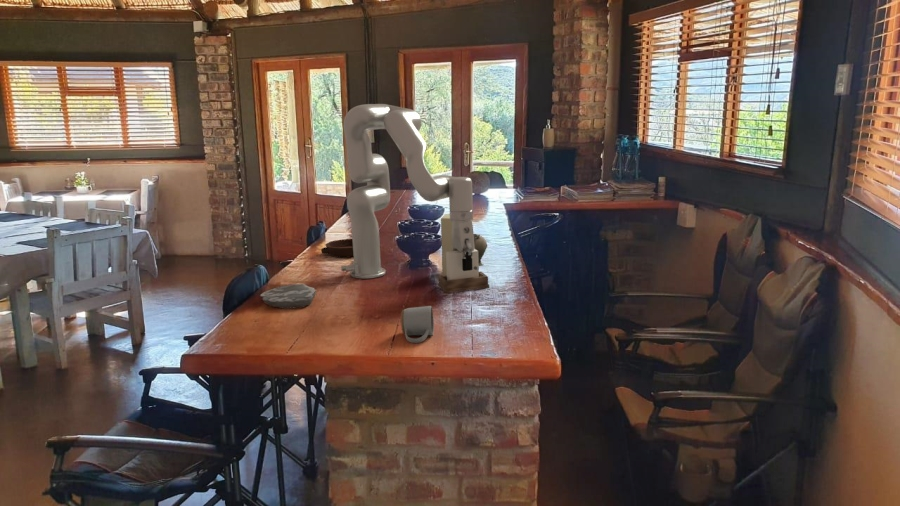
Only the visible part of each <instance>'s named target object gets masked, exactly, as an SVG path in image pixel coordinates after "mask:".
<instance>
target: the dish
mask: <svg viewBox="0 0 900 506" xmlns="http://www.w3.org/2000/svg"><path fill="white" fill-rule="evenodd" d="M320 253H321V254H323V255H324V254H325V255H330V256H332V257H334V256H335V258H354V255H353V240H352V238H346V239H345V238H344V239H337V240H332V241H329V242H327V243H326V244H325V246H324V247H322V248H321V252H320Z"/></svg>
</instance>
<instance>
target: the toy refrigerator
mask: <svg viewBox="0 0 900 506" xmlns="http://www.w3.org/2000/svg"><path fill="white" fill-rule="evenodd" d="M440 234H441V235H440V237H441V239H440V240H441V268H442V269H441V270H442V275H441V276H445V275H447V268H446V252H449V251H453V245H452V221H450V213H446V214H444V215H443V216H441V218H440Z"/></svg>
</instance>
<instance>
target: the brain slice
mask: <svg viewBox="0 0 900 506" xmlns="http://www.w3.org/2000/svg"><path fill="white" fill-rule="evenodd" d="M316 293H317V291H316V289H315V287H312V286H308V285H307V284H305V283H295V284H286V285H279V286H277V287H274V288H271V289H267V290H266V291H264V292H262V293H261V294H259V296H260V297H261V299H262V301H263V302H264V304H266V305H268V306H270V305H271V306H270V307H272V306H274V307H273V308H276V307H279V308H280V309H294V308H293V307H296V308H304V307H303V306H305V307H307V306H306V305H308V306H310V305H311V304H312V302H313V300H314V298H315V297H316V295H317V294H316Z"/></svg>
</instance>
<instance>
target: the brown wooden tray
mask: <svg viewBox="0 0 900 506" xmlns="http://www.w3.org/2000/svg"><path fill="white" fill-rule="evenodd" d="M437 277H438V282H437V287H439V288H440V289H441V290H442V292H444V293H445V294H449V293H455V292H456V293H457V292H464V291H472V290H473V291H474V290H481V289H490V284H489V276H488V275H486V274H485V273H484V272H483V271H479V277H473V278H464V279H456V280H447V275H445V276H443V275H439V276H437Z"/></svg>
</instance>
